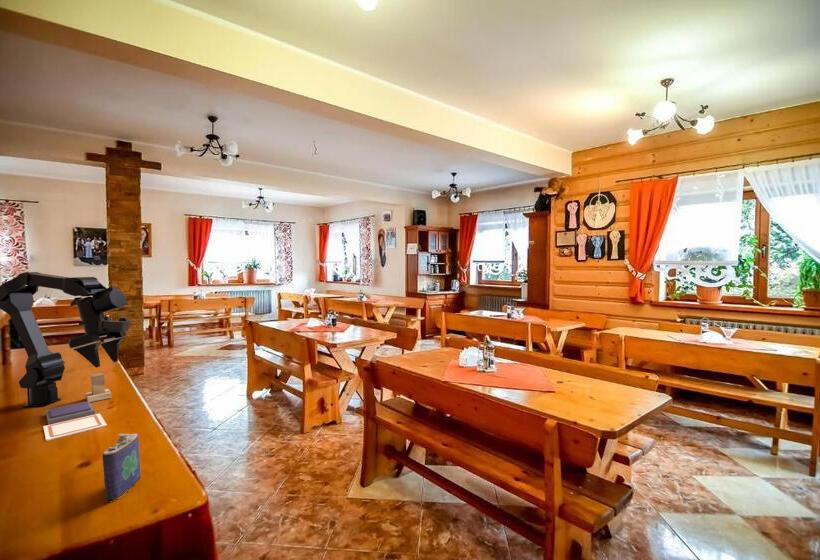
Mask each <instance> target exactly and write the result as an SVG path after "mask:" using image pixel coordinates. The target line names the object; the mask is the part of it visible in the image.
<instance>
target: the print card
mask: <svg viewBox="0 0 820 560" xmlns="http://www.w3.org/2000/svg"><path fill="white" fill-rule="evenodd" d="M107 426H108V424H107V423H106V420H105V419H104V418H103V416H102V414H101V413H95V414H93V415H88V416H84V417H80V418H75V419H71V420H66V421H62V422H57V423H53V424H49V425H43V426H42V429H43V433H44V437H45V441H46V442H48V441H52V440H57V439H60V438H65V437H68V436H73V435H76V434H81V433H83V432H89V431H91V430H92V431H93V430H97V429H100V428H104V427H107Z"/></svg>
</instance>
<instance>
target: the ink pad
mask: <svg viewBox="0 0 820 560" xmlns="http://www.w3.org/2000/svg"><path fill="white" fill-rule="evenodd" d="M95 414H96V410H95V408H94V406H93V405H92V403H90V402H88V401H87V400H86V401H82V402H81V401H80V402H77V403H76V402H75V403H71V404H66V405H63V406H62V405H61V406H57V407H52V408H49V410H48V409H47V410H45V416H46V420H47V424H48V425H51V424H55V423H60V422H64V421H69V420H73V419H77V418H82V417H86V416H91V415H95Z"/></svg>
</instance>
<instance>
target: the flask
mask: <svg viewBox="0 0 820 560" xmlns="http://www.w3.org/2000/svg"><path fill="white" fill-rule="evenodd" d="M139 436H140V435H139V434H138V433H131V434H130V433H119V434H117V437H119V438H118V439H117V441H116V444H114V445H113V446H110V447H108V448H107V449H105V450H104V452H103V453H102V457H101V458H102V466H103V483H104V489H105V490H104V493H105V494H104V495H105V500H106V501H105V503H106V502H107V503H111V502H110V501H113V502H115V501H114V500H115V499H117V498H119V497H120V496H122V495H123V494H124V493H125V492H126V491H127V490H129V489H130V488H131V487H132V488H133V487H134V486H135V485H136V484H137V483H138V482H139V480H140V479H141V475H142V474H141V473H142V472H141V461H140V442H139V441H140V440H139V439H140V438H139ZM137 481H138V482H137ZM136 482H137V483H136ZM135 483H136V484H135ZM134 484H135V485H134ZM132 488H131V489H132ZM122 497H123V496H122ZM119 499H120V498H119Z"/></svg>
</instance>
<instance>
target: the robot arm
mask: <svg viewBox="0 0 820 560" xmlns="http://www.w3.org/2000/svg"><path fill="white" fill-rule="evenodd" d="M39 287H41V288H49V289H55V290H60V291H62V292H63V293H64V294H67V295H70V296H73V297H74V299H73V300H72V302H71V303H70V307H77V309H78V314H79V316H80V320H81V321H80V322H78V325H79V327H81V326H82V327H83V331H84V332H85V333H84V334H82V335H77V336H74V337H71V338H69V341H68V342H67V343H68V347H69V349H73V351H75V352H77V353H78V354H79V355H81V356H82V357H83V358H84V359H85V360H87V361H88V362H89V363H90V364H91V365H92V366H93V367H95V368H100V367H101V359H100V355H99V347H100V346H101V347H102V348H103V349H104V351H105V352H106V354H107V355H108V357H109V359H110V360H111V361H112V362H113V363H117V362H118V361H119V349H120V344H121V343H122V342H123V340H124V339H125V337H127V332H129V329H130V328H129V327H131V326H132V322H131V321H130V319H129V317H120V318H119V319H117V320H116V319H115V320H111V317H110V316H109V315H105V313H107V312H110V311H114V310H117V309H120V308H123V307H125V306H126V304H127V300H128V299H127V296H126V295H125V294H124V293H123V291H121V290H119V288H118V286H109V287H106V286H105V285H103V284H102V283H101V282H100V281H99V280H98V278H97V277H95V276H77V277H76V276H75V277H74V276H73V277H68V276H61V275H55V274H48V273H41V272H39V271H27V272H21V273H19V274H18V275H17V276H15V277H14V278H12V279H10V280H7V281H6V282H4V283H2V284H1V285H0V310H1V311H2V312H4V313H6V314H8V315H9V317H10V319H11V321H12V324H13V326H14V328H15V330H16V333H17V335H18V337H19V339H20V342H21V343H22V346H23V347H24V350H25V353H26V355H27V360H26V363H25V372H26V373H25V374H24V375H22V377H21V379H19V381H18V385H19V387H20V388H21V389H26V393H27V396H26V397H27V403H26V404H23V405H22V407H23V408H27V407H28V408H31V407H34V408H35V407H45V406H48V405H50V404H53V403H55V402H58V401H61V400H62V398H61V397H59V392H58V387H57V382H59V381H62V378H63V375H64V371H65V369H66V366H65V364H66V362H65V361H64V359H63V357H62V354H61V352H53V351H51V350H50V349H49V347H48V344H47V343H46V340H45V338H44V336H43V335H44V334H42V330H41V329H40V327H39V325H38V322H37V319H36V318H35V316H34V313H33V310H32V308H33V305H34V303H35V302H34V301H35V300H34V295H35V294H37V292H39Z"/></svg>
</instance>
